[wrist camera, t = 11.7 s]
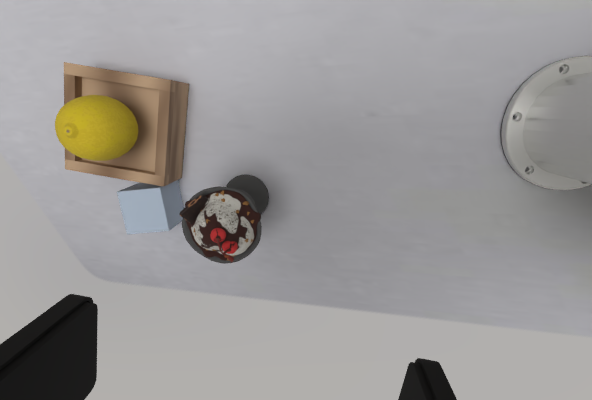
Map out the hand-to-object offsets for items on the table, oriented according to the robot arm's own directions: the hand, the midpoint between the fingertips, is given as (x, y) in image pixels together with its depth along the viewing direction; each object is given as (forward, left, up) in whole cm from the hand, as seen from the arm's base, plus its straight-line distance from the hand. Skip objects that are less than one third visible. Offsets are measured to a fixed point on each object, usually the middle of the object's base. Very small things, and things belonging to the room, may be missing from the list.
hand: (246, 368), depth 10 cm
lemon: (+18, -3, -25) cm, 31 cm away
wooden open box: (+18, -3, -28) cm, 34 cm away
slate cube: (+15, +5, -28) cm, 33 cm away
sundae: (+6, +3, -28) cm, 29 cm away
